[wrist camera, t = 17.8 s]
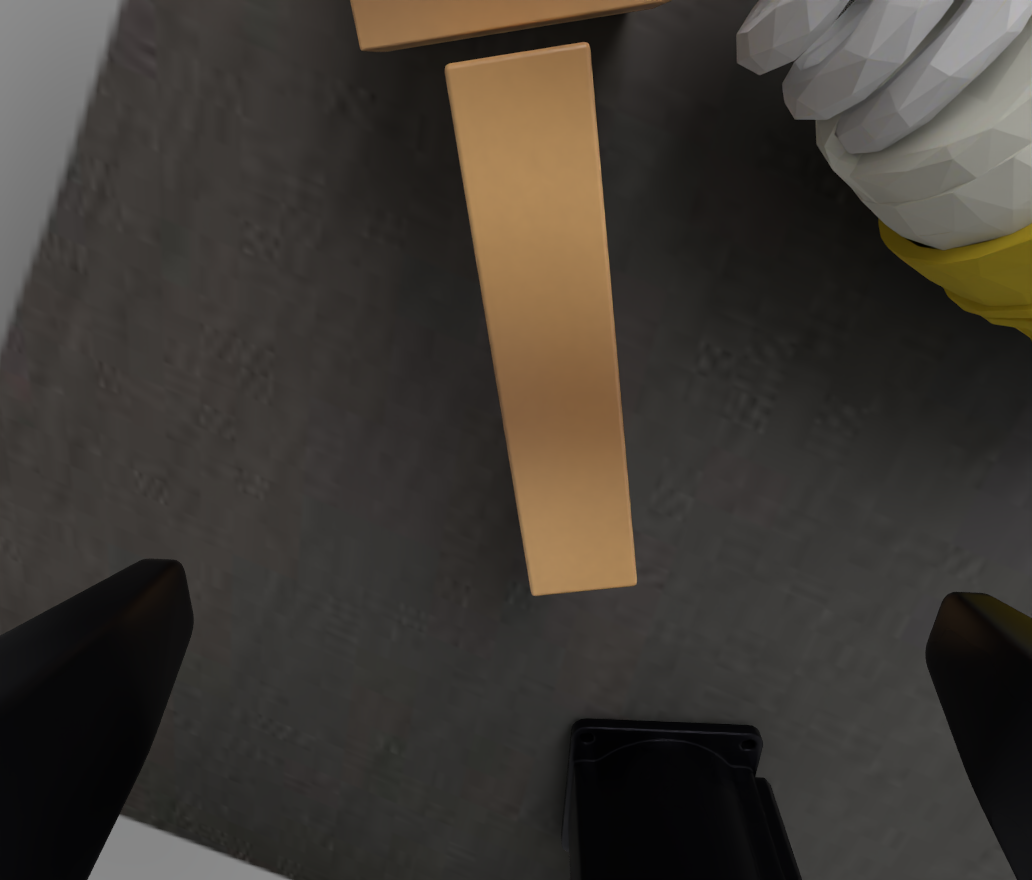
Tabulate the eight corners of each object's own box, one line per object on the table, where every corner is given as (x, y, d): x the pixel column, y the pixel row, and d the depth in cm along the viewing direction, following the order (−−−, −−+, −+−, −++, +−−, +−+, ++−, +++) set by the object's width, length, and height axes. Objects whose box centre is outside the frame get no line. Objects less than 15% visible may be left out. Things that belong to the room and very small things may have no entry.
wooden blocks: (362, -178, 15) (254, -328, 9) (620, -227, 15) (678, -415, 9) (479, 457, 22) (460, 605, 16) (661, 436, 21) (712, 579, 15)
